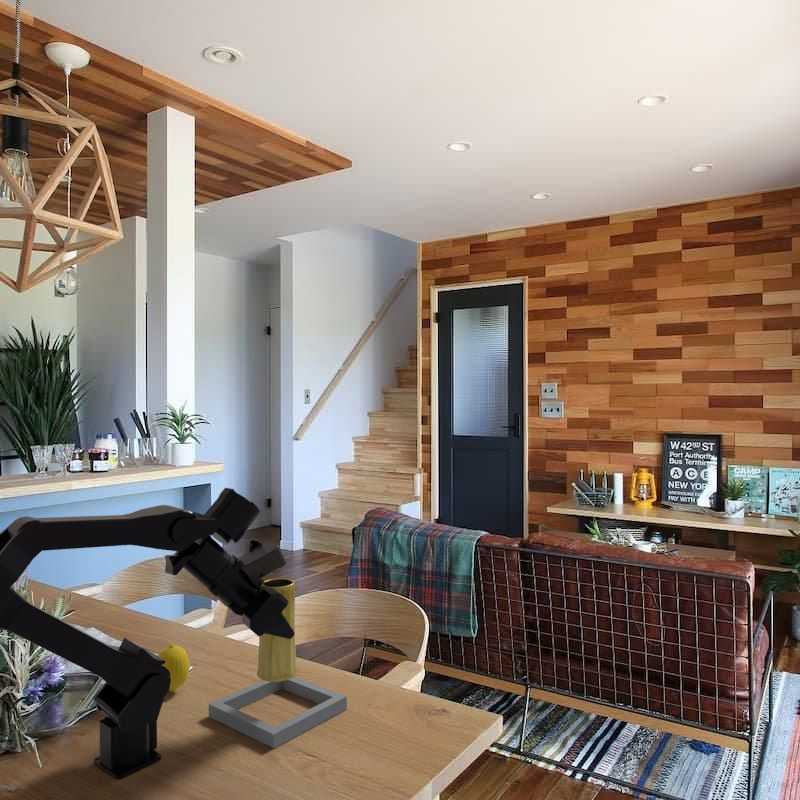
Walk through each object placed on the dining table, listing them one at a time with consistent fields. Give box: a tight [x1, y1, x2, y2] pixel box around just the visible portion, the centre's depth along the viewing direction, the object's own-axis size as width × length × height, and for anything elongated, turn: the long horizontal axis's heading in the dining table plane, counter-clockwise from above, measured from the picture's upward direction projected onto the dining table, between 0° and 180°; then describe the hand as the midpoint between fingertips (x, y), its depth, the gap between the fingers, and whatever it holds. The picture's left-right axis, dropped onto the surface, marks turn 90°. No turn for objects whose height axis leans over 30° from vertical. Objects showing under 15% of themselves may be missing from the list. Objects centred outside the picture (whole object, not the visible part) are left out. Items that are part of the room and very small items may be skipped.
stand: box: [208, 676, 348, 749], centre depth 106 cm, size 15×15×2 cm
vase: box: [256, 577, 298, 682], centre depth 106 cm, size 6×6×14 cm
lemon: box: [157, 643, 191, 693], centre depth 114 cm, size 6×6×8 cm
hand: (285, 630), depth 107 cm, fingers closed on vase, 5 cm apart
